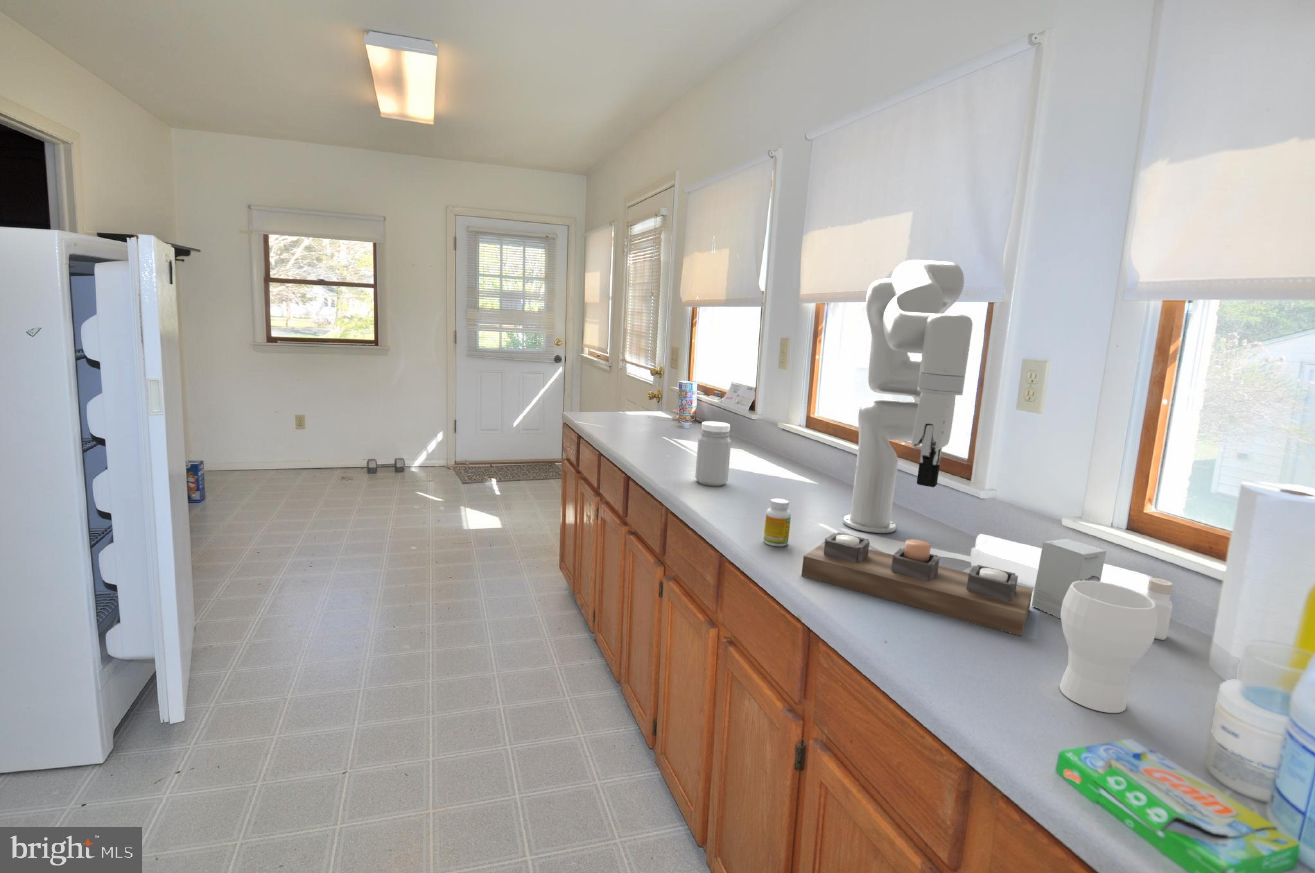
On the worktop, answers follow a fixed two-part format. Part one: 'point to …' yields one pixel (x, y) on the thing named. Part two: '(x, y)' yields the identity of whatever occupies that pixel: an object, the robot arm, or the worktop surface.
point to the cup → (1104, 642)
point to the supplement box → (1064, 571)
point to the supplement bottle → (777, 523)
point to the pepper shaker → (1161, 604)
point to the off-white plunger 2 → (993, 574)
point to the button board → (921, 583)
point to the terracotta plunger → (917, 550)
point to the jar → (713, 454)
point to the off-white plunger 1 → (847, 539)
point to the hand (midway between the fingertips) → (926, 485)
